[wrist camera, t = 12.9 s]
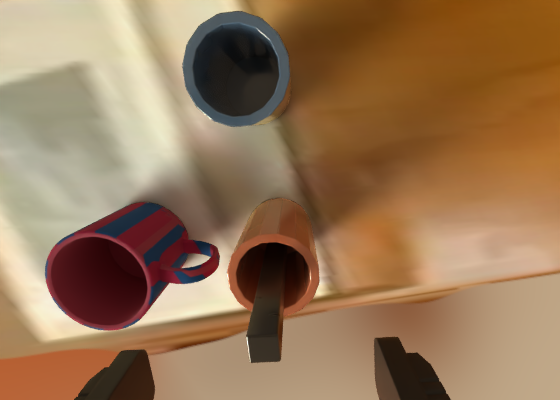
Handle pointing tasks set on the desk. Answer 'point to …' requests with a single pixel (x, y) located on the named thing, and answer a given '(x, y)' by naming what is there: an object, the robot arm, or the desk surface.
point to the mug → (123, 265)
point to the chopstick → (268, 307)
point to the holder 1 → (237, 70)
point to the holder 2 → (300, 254)
